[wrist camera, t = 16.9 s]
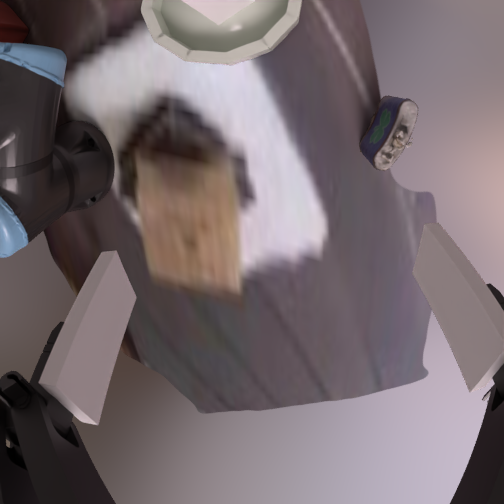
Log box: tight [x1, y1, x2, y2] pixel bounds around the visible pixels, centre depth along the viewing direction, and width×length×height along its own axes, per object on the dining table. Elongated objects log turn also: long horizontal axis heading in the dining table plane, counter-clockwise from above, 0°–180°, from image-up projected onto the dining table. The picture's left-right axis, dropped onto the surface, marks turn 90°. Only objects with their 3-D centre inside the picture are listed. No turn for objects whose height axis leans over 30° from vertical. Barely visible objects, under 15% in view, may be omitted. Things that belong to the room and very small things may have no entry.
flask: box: [359, 96, 418, 171], centre depth 32 cm, size 9×3×11 cm, turn 159°
